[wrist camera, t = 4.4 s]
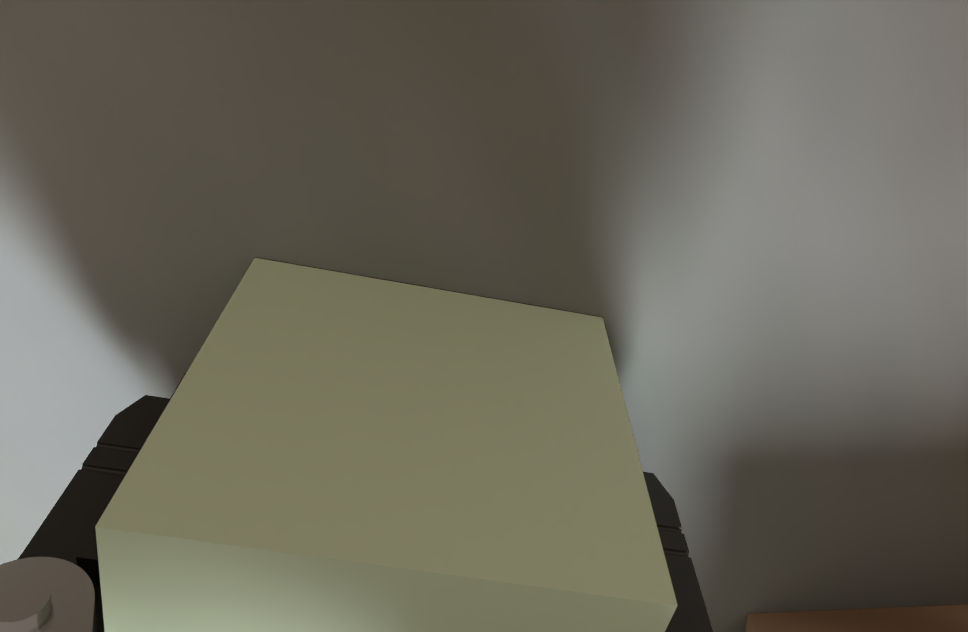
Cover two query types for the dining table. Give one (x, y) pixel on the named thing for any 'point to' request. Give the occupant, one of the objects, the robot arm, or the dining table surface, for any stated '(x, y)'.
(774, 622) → the walnut cube
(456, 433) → the sage cube
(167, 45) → the dining table surface
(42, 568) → the robot arm
